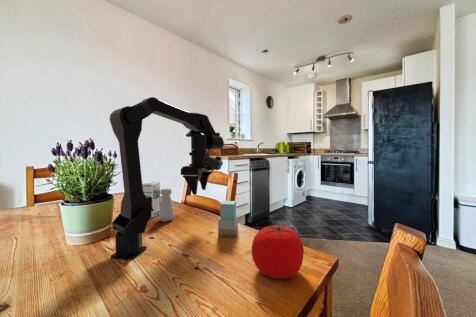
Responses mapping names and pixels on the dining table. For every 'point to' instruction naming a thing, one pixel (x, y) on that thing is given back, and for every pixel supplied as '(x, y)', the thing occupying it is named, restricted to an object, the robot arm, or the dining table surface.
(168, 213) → the salt shaker
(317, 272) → the dining table surface
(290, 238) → the tomato
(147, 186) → the syrup box
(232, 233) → the tower lower
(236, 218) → the tower upper
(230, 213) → the teal block
